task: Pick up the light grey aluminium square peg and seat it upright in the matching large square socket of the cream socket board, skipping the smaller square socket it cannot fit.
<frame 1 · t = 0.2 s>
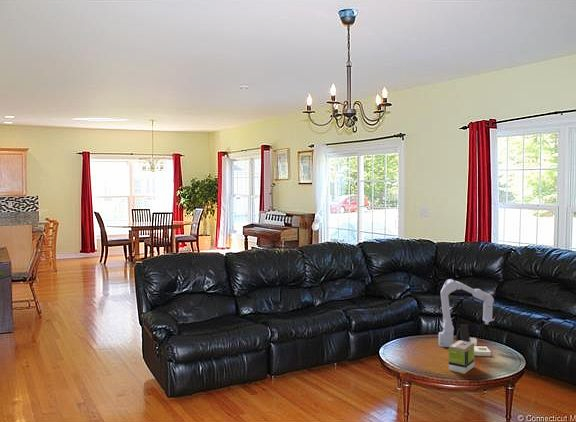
hand: (486, 332, 355), 10 cm above the table, tool pointing down, fingers open, 7 cm apart
tea box: (461, 369, 315), on the table
socket board: (475, 353, 343), on the table
aluminium peg: (472, 347, 355), on the table
door stopper: (462, 341, 368), on the table
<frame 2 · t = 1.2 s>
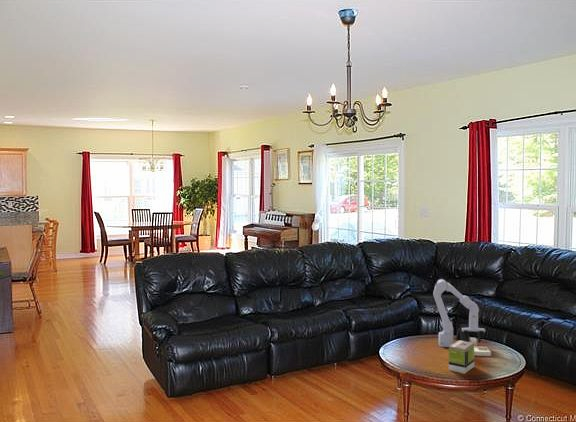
hand: (473, 342, 355), 3 cm above the table, tool pointing down, fingers open, 7 cm apart
nothing on the table moved.
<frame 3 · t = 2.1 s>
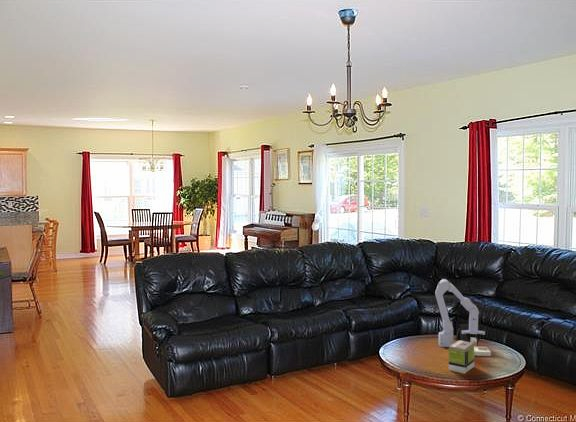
hand: (472, 344, 355), 2 cm above the table, tool pointing down, fingers closed on aluminium peg, 4 cm apart
aluminium peg: (472, 347, 355), on the table, touching gripper
everything else where it was.
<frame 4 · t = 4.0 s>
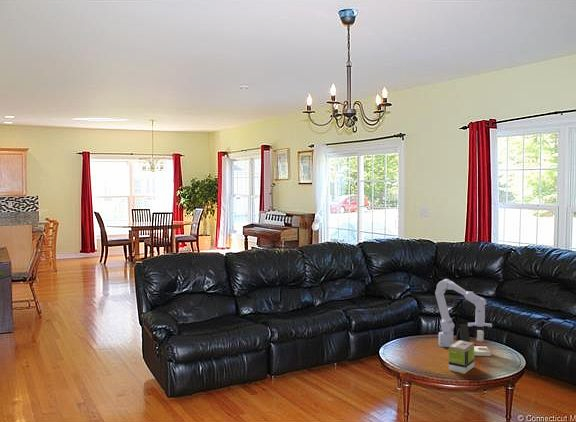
hand: (479, 337, 347), 9 cm above the table, tool pointing down, fingers closed on aluminium peg, 4 cm apart
aluminium peg: (479, 340, 347), point 7 cm above the table, touching gripper
everything else where it was.
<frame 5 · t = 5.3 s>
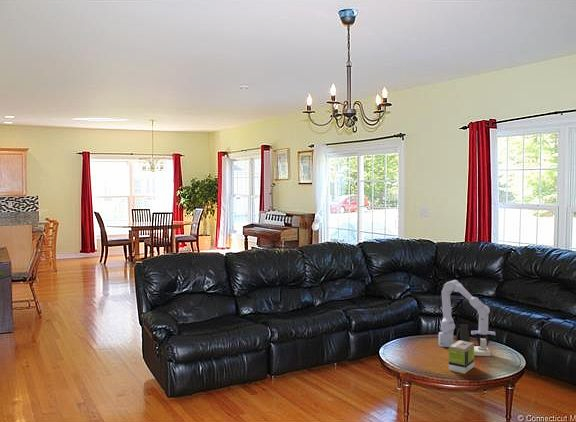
hand: (482, 345, 343), 5 cm above the table, tool pointing down, fingers closed on aluminium peg, 4 cm apart
aluminium peg: (482, 348, 343), point 3 cm above the table, touching gripper
everything else where it was.
when the fingers open (4 cm above the table, at t = 6.0 s): aluminium peg drops 2 cm, resting on socket board.
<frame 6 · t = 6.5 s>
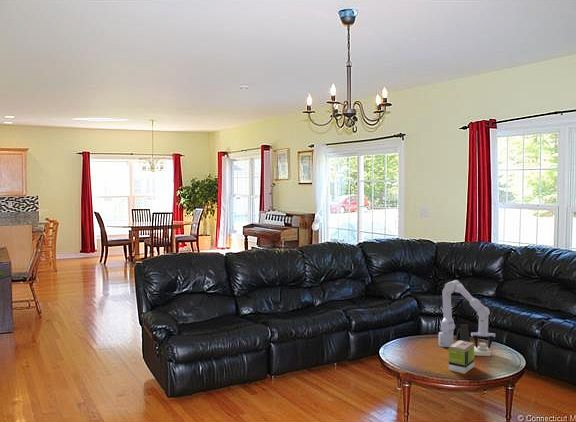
hand: (482, 347, 343), 4 cm above the table, tool pointing down, fingers open, 7 cm apart
aluminium peg: (482, 352, 343), resting on socket board
everything else where it was.
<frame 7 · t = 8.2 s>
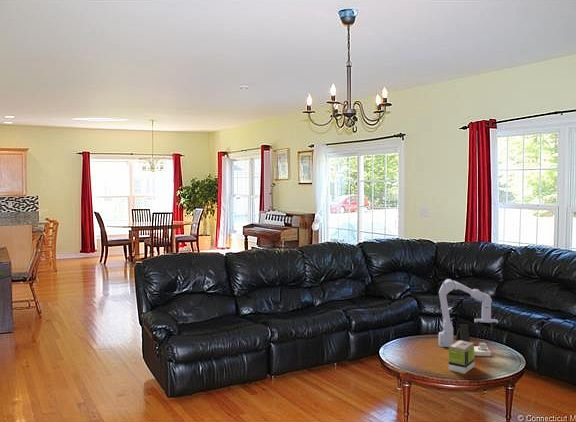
hand: (485, 333, 353), 10 cm above the table, tool pointing down, fingers open, 7 cm apart
nothing on the table moved.
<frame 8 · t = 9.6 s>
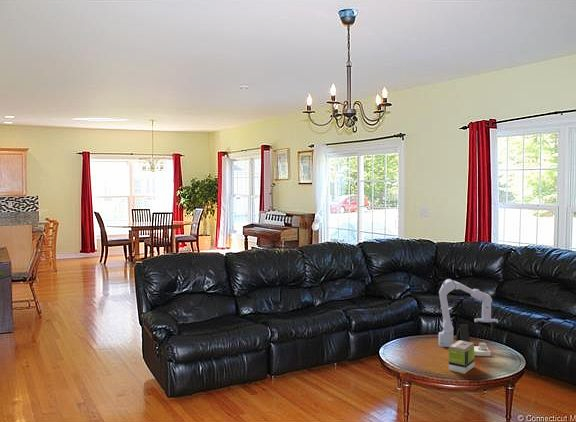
hand: (485, 333, 354), 10 cm above the table, tool pointing down, fingers open, 7 cm apart
nothing on the table moved.
at the end: aluminium peg 0.3 cm from the target spot on the socket board, point 0.3 cm above the socket board's base; aluminium peg tilted 0°; the gripper is holding nothing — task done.
